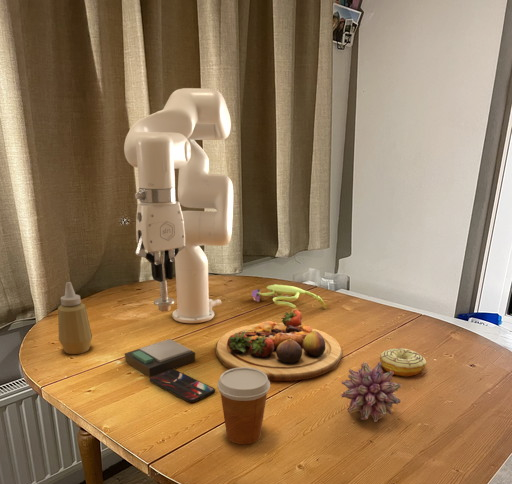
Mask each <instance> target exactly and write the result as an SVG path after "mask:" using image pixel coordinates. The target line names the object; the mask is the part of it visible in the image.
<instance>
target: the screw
mask: <svg viewBox="0 0 512 484" xmlns="http://www.w3.org/2000/svg"><path fill="white" fill-rule="evenodd" d="M159 258H160V264H162V270H163V281H162V282H159V283H158V287H159V297H156V298H155V299H154V300H153V305H155V306H157V307H158V311H160V312H169V311H171V310H172V305H175V304H176V299H174V298H173V297H170V296H169V293H168V281H167V280H168V279H167V276H166V275H167V274H166V272H167V271H166V268H165V267H166V266H165V257H164V256H163V254H161V255H159Z"/></svg>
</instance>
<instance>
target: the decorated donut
mask: <svg viewBox="0 0 512 484" xmlns="http://www.w3.org/2000/svg"><path fill="white" fill-rule="evenodd" d="M379 362H381V363H382V364H381V368H383V370H385V371H386V372H390V371H393V372H394V374H393V375H395V376H399V377H410V376H411V377H412V376H417V375H418V374H420V373H422V371H423V370H424V368H426V366H427V361H426V359H425V357H424V356H423V355H422V354H420V353H418V352H417V351H415V350H412V349H409V348H404V347H403V348H401V347H399V348H389V349H385V350H383V352H381V353H380V355H379Z"/></svg>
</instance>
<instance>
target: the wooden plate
mask: <svg viewBox="0 0 512 484" xmlns="http://www.w3.org/2000/svg"><path fill="white" fill-rule="evenodd" d="M280 319H281V322H275V321H272V320H265V321H262V322H259V323H253V324H248V325H247V324H246V325H244V326H240V327H237V328H234V329H231V330H229V331H228V332H226V333H225V334H223V335H222V336H221V337H220V338H219V339H218V340H217V342H216V345H215V354H216V356H217V358H218V360H219V361H220V362H221V363H222V365H224V366H225V367H227V368H228V369H229V370H230V369H233V368H239V367H248V368H255V369H258V370H261V371H262V372H264V373H265V374H266V375H267V377H268V380H269V381H277V382H278V381H279V382H281V381H283V382H284V381H286V382H287V381H288V382H289V381H301V380H306V379H311V378H315V377H318V376H319V377H320V376H321V375H324V374H326V373H328V372H329V371H332V370H333V369H334V368H336V366H337V365H338V364H339V363H340V361H341V360H342V357H343V350H342V347H341V345H340V343H339V342H338V340H336V338H334V337H333V336H332V335H330V334H328V333H326V332H324V331H322V330H320V329H317V328H313V327H312V326H310V325H307V324H302V320H303V316H302V314H301V312H300V311H299V310H298V309H293V310H289V312H285V313H284V315H283V317H280Z"/></svg>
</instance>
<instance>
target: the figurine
mask: <svg viewBox="0 0 512 484" xmlns="http://www.w3.org/2000/svg"><path fill="white" fill-rule="evenodd" d="M266 290H267V291H268V292H261V289H260V288H257V289H254V290H252V292H251V298H252V300H253V301H254V302H257V303H259V302H261V301H262V299H261V297H273V298H272V302H273V303H274V304H275V305H278V306H284V307H285V306H286V307H289V308H292V309H293V310H297V305H295V304H294V303H291V302H288V301H296V300H297V299H298V298H299V297H300V296H301V295H306V296H309V297H310V298H313V299H314V300H316V301H317V302H318V303H319V304H320V305H321V306H322V308H323V309H325V310H326V309H327V308H328V305H327V303H325V301H324V299H323V298H322V297H321V296H320V295H317V294H315V293H312V292H310V291H309V290H304V289H302V288H300V287H296V286H292V285H286V284H285V285H284V284H277V283H274V284H271V285H267V286H266Z"/></svg>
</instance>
